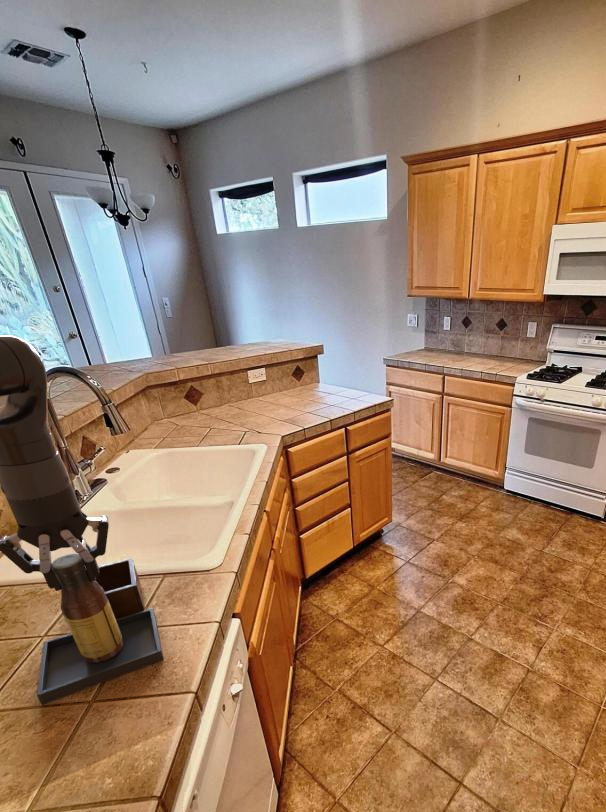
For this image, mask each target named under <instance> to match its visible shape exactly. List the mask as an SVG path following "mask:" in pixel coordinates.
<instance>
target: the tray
mask: <svg viewBox="0 0 606 812" xmlns="http://www.w3.org/2000/svg"><path fill="white" fill-rule="evenodd" d="M116 622H117V624H118V627H119V629H120V632H121V635H122V639H123V647H122V649H121V650H120V652H119V653H117V654H116V655H115V656H113V657H112V658H110V659H108V660H106V661H103V662H97V663H93V662H88V661H87V660H86V659H85V658H84V656H82V655H81V653H80V651H79V648H78V646H77V644H76V642H75V639H74V637H73V635H72V633H67V634H64V635H61V636H57V637H55V638H52V639H48V640H45V641H43V644H42V652H41V659H40V668H39V676H38V683H37V691H36V697H37V699H38V701H39V703H40V705H45V704H48V703H51V702H53V701H57V700H58V699H61V698H64V697H67V696H69V695H72V694H75V693H77V692H81V691H83V690H87V689H89V688H91V687H95V686H97V685H100V684H102V683H104V682H107V681H110V680H112V679H116V678H118V677H120V676H124V675H126V674H129V673H132V672H134V671H137V670H140V669H143V668H146V667H148V666H150V665H153V664H156V663H159V662H161V661H164V660H165V657H164V653H163V648H162V643H161V638H160V633H159V628H158V622H157V618H156V614H155V609H154V608H153V607H151V608H147V609H145V610H144V611H141V612H138V613H135V614H131V615H128V616H125V617H122V618H119V619H116Z"/></svg>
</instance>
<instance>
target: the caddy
mask: <svg viewBox="0 0 606 812" xmlns="http://www.w3.org/2000/svg"><path fill="white" fill-rule="evenodd" d="M98 567H99V576H98V577H96V582H98V584H99V585H100V586H101V587H102V588H103V590H104V593H105V595H106V597H107V598H108V601H109V603H110V606H111V609H112V611H113V614H114V616H115V619H119V618H122V617H125V616H128V615H131V614H135V613H138V612H141V611H144V610H146V608H145V601H144V595H143V591H142V585H141V581H140V578H139V575H138V571H137V568H136V565H135V562H134V559H133V557H130V558H125V559H121V560H117V561H114V562H113V561H112V562H110V563H109V562H108V563H106V564H102V565H98Z"/></svg>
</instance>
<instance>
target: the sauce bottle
mask: <svg viewBox="0 0 606 812" xmlns="http://www.w3.org/2000/svg"><path fill="white" fill-rule="evenodd" d="M84 562H85V561H84V560H83V559H82V557H81V556H80V555H79V554H78V553H68V554H64V555H61V556H59V557H57V558H56V559H54V560H53V561H52V562H51V563H52V565H51V566H52V569H53V571H54V573H55V574H56V575H57V577H58V579H59V581H60V586H61V588H62V590H60V591H61V593H60V595H61V596H60V598H61V599H60V611H61V613H62V614H63V617H64V620H65V622H66V624H67V626H68V628H69V630H70V632H71V633H72V635H73V637H74V639H75V642H76V644H77V646H78V648H79V651H80V653H81V655H82V656H84V658H85V659H86V660H87V661H88V662H93V663H97V662H103V661H106V660H108V659H110V658H112V657H113V656H115V655H116V654H117V653H119V652H120V650H121V649H122V647H123V639H122V635H121V632H120V629H119V627H118V624H117V622H116V619H115V616H114V614H113V611H112V609H111V606H110V603H109V601H108V598H107V597H106V595H105V593H104V590H103V588H102V587H101V586H100V585H99V584H98V582H96V581H92V582H91V581H90V578H89V576H88V573H87V570H86V568H85V565H84ZM71 633H70V634H71Z"/></svg>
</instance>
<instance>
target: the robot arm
mask: <svg viewBox="0 0 606 812" xmlns="http://www.w3.org/2000/svg"><path fill="white" fill-rule="evenodd" d="M47 375H48V373H47V371H46V365H45V363H44V362H43V359H42V357H41V356H40V354H39V353H38V351H36V349H35V348H34V347H33V346H32V345H31V344H30V343H28V342H27V340H24V339H22V338H20V337H17V336H13V335H0V397H5V396H6V398H5V399H6V400H5V405H4V407H3V408H2V409H1V410H0V489H1V492H2V494H4V497H5V499H6V501H7V503H8V505H9V508H10V510H11V512H12V515H13V518H14V519H15V522H16V525H17V531H16V532H15V533H12V534H11V535H9V536H8V535H2V536H1V537H0V552H1V553H2V554H3V555H4V556H5V557H6V558H7V559H9V560H10V561H11V562H12V563H13V564H14V565H15V566H17V567H18V568H19V569H20V570H21V571H22V572H23V573H24V574H32V573H34V572H39V573H41V574H42V575H43V578H44V580H45V582H46V584H47V587H48V588H49V589H50V590H52V589H54V590H55V592H58V591H61V590H62V588H61V586H60V581H59V579H58V577H57V575H56V574H55V573H54V571H53V569H52V566H51V565H52V563H53V562H52V552H56V551H58V550H60V549H68V548H72V550H73V551H74V552H75V554H79V555H80V556H81V557H82V559H83V560H84V561H85V562H84V565H85V568H86V570H87V573H88V576H89V578H90V581H91V582H92V581H96V577H98V576H99V567H98V566H99V565H98V561H97V558H98V557H101V556H105V554H106V552H107V551H106V550H107V543H108V536H109V535H108V534H109V526H110V524H109V517H108V516H107V515H100V516H99V517H88V515H87V514H86V513H84V512H83V510H82V509H81V506H80V504H79V501H78V498H77V495H76V492H75V490H74V487H73V483H72V481H71V478H70V475H69V473H68V470H67V467H66V465H65V463H64V461H63V459H62V457H61V456H60V453H59V451H58V448H57V446H56V445H57V444H56V443H55V439H54V437H53V434H52V431H51V428H50V424H49V407H48V406H49V405H48V377H47ZM88 526H89V527H91V530H92V531H93V532H94V533H97V534H96V543H95V545H94V546H92V547H91V546H90V545H89V544H88V542H87V540H86V538H85V537H84V536H83V535H84V533H85V531H86V530H87V527H88ZM22 541H24V542H26V543H28V544H29V545H31V546H33V547H35V548H37V549H38V559H35V558H33V556H31V555H30V554H29V553H28V552H27V551H26V550H25V549H24V548H23V547H22V546H23V545H22Z"/></svg>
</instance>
